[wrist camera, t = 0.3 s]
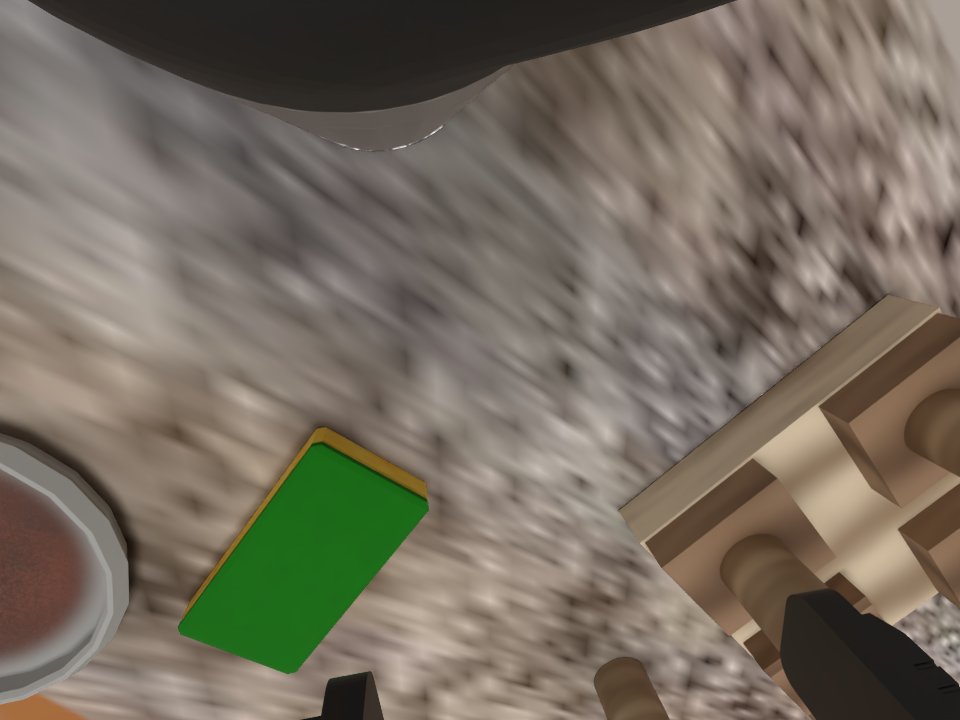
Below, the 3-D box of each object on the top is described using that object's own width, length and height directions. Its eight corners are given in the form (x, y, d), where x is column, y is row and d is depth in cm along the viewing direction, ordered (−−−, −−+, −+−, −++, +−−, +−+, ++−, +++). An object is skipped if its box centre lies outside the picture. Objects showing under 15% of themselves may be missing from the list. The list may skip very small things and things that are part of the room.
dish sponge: (189, 598, 30) (173, 633, 28) (321, 420, 27) (314, 442, 25) (299, 642, 32) (292, 677, 30) (429, 481, 30) (432, 507, 27)
